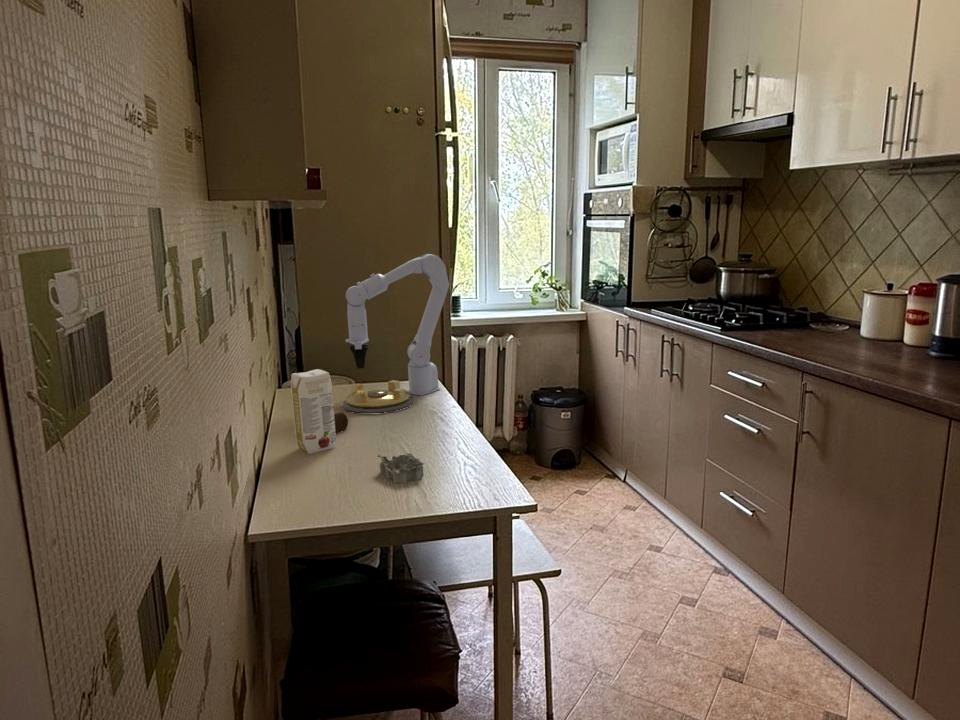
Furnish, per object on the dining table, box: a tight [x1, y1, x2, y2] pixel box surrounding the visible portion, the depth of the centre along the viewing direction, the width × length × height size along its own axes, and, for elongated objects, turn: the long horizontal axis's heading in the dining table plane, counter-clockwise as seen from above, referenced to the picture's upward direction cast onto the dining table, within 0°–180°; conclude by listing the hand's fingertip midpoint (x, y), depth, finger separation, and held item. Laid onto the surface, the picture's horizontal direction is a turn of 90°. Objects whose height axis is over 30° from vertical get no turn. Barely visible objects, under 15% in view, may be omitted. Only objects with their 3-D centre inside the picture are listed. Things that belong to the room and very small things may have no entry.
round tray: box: [345, 379, 411, 408], centre depth 201 cm, size 19×19×4 cm
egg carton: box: [377, 452, 425, 484], centre depth 144 cm, size 11×8×4 cm
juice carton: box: [290, 368, 337, 455], centre depth 161 cm, size 8×9×19 cm
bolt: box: [334, 411, 349, 434], centre depth 180 cm, size 6×5×15 cm
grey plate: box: [342, 394, 414, 414], centre depth 202 cm, size 21×21×1 cm
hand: (360, 367), depth 209 cm, fingers closed
